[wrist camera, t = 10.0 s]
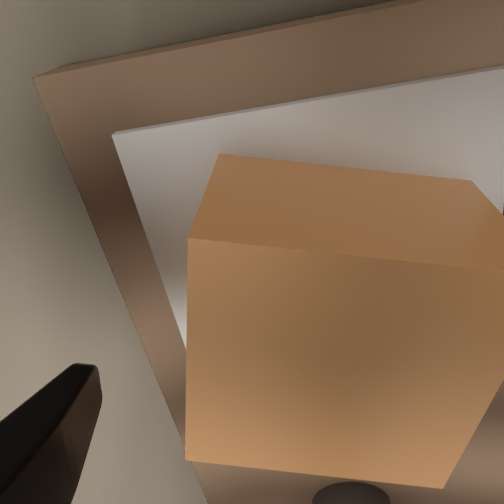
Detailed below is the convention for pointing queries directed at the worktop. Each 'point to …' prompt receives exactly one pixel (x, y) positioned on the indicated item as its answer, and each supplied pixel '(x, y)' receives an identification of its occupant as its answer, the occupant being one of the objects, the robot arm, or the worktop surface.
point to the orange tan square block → (341, 320)
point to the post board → (287, 149)
